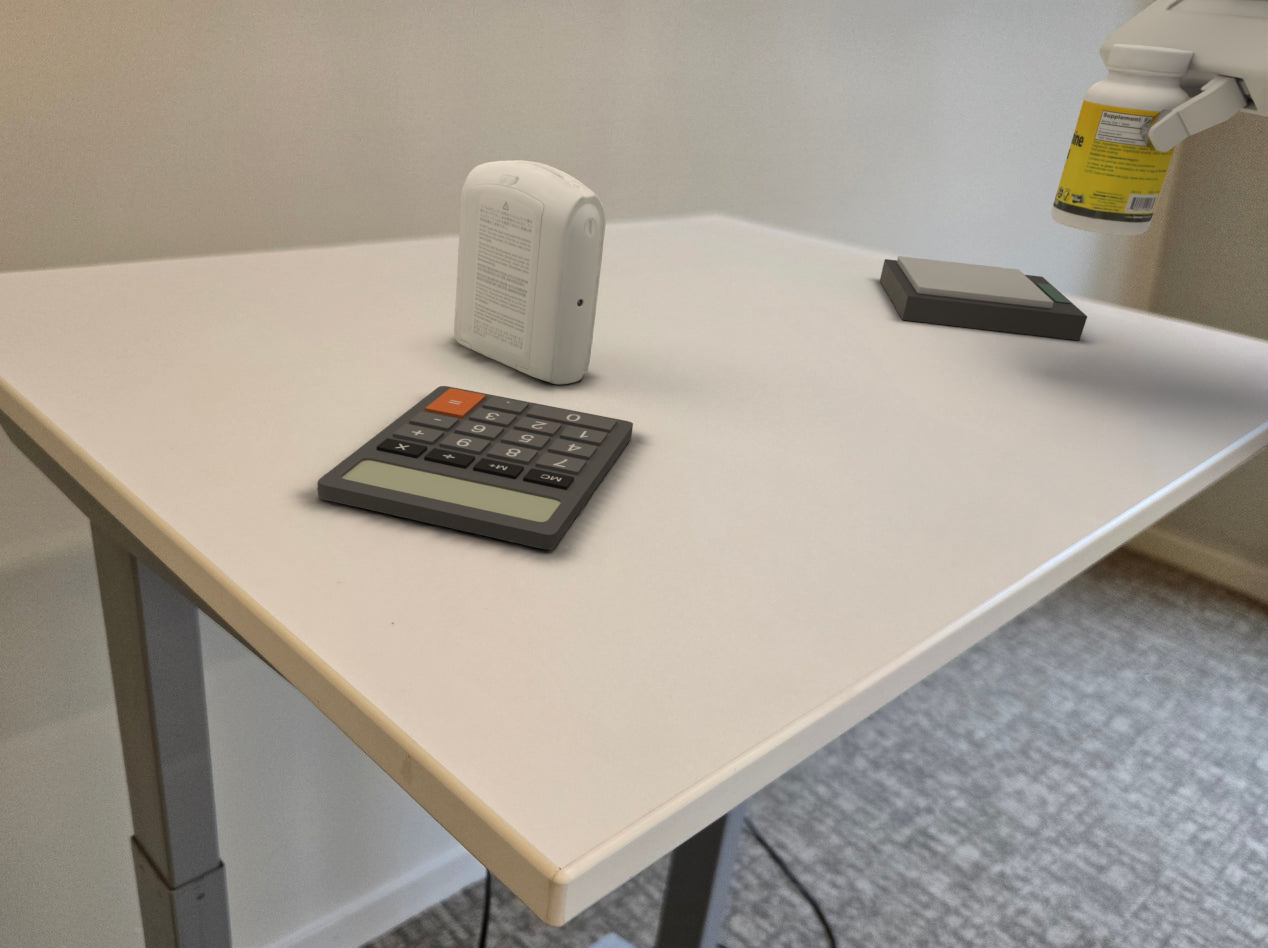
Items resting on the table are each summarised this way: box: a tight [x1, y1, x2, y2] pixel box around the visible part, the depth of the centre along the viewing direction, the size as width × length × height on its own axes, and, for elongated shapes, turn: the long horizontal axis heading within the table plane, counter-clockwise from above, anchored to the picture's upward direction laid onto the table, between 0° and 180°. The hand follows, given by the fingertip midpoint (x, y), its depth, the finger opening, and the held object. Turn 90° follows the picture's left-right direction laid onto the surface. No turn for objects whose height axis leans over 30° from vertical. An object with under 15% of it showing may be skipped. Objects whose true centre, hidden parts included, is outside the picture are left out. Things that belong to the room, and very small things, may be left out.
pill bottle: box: [1051, 44, 1194, 236], centre depth 70 cm, size 6×6×11 cm
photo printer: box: [453, 159, 607, 385], centre depth 67 cm, size 10×4×12 cm, turn 45°
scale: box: [879, 255, 1088, 341], centre depth 91 cm, size 14×13×3 cm
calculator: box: [317, 385, 634, 550], centre depth 55 cm, size 12×1×15 cm
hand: (1117, 133), depth 70 cm, fingers closed on pill bottle, 6 cm apart
